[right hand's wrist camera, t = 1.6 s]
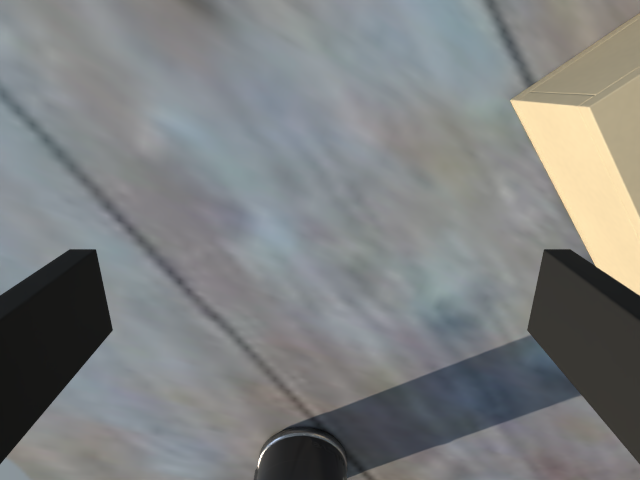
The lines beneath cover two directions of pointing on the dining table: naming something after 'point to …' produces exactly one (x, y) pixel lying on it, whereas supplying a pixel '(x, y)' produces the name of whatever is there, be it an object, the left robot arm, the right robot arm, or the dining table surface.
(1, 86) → the dining table surface
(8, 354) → the right robot arm
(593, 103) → the cabinet
